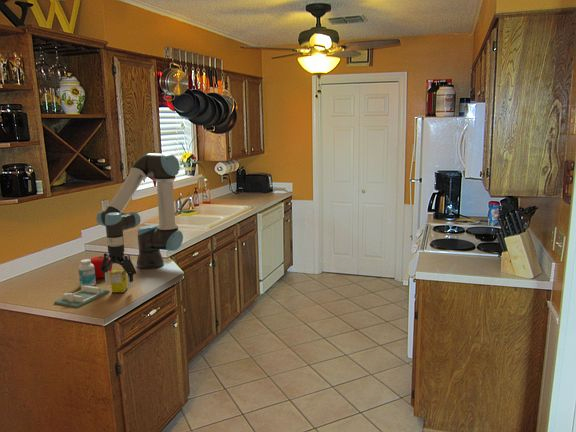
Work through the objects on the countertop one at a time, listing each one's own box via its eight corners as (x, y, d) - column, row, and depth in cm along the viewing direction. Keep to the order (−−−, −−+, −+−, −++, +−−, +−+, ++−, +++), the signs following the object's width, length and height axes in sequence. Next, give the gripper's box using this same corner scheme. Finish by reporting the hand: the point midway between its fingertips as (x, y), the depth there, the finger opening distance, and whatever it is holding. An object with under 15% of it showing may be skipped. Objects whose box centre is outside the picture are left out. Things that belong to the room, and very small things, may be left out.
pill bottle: (80, 284, 242) (77, 259, 239) (95, 282, 245) (93, 257, 242) (80, 288, 235) (77, 263, 232) (95, 286, 238) (93, 261, 235)
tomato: (81, 278, 250) (79, 258, 248) (102, 271, 262) (100, 251, 260) (98, 282, 245) (96, 261, 242) (118, 274, 257) (116, 254, 254)
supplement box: (127, 289, 235) (125, 268, 232) (124, 293, 229) (122, 272, 227) (115, 289, 235) (113, 268, 232) (111, 293, 229) (109, 272, 226)
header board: (86, 288, 235) (86, 280, 234) (109, 292, 230) (108, 283, 229) (54, 303, 217) (53, 294, 216) (77, 307, 212) (76, 298, 211)
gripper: (89, 244, 228) (93, 285, 232) (131, 249, 219) (134, 291, 223) (100, 240, 234) (104, 280, 239) (141, 245, 226) (144, 286, 230)
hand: (119, 286), depth 231 cm, fingers open, 13 cm apart
